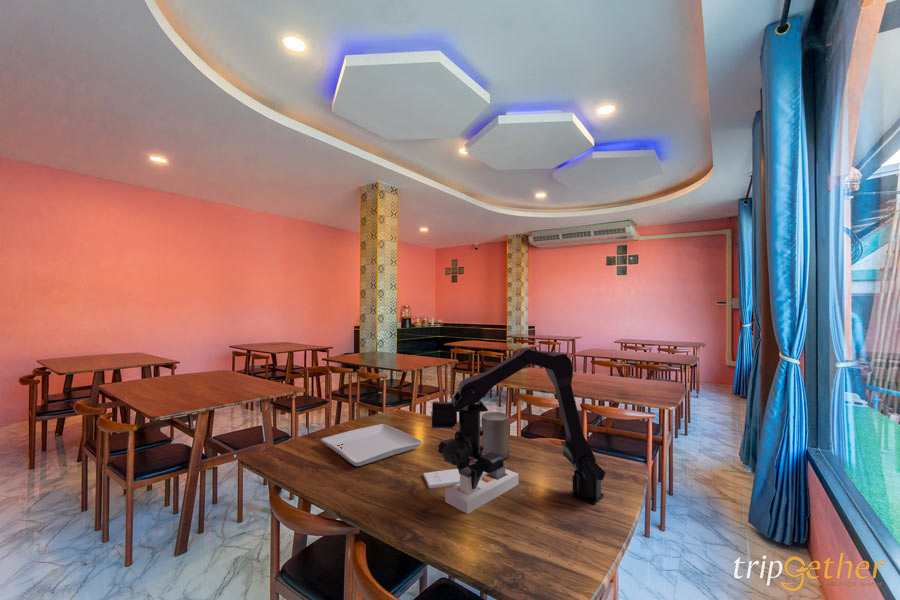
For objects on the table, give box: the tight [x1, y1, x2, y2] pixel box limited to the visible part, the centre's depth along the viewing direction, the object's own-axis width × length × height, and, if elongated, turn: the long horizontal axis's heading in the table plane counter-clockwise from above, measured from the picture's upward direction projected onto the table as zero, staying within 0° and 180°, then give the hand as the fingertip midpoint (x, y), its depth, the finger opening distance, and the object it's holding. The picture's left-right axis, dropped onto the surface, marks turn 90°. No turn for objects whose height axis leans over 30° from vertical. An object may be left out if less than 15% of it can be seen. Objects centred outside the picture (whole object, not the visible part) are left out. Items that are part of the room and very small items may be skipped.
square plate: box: [320, 423, 423, 467], centre depth 131 cm, size 27×27×4 cm
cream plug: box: [460, 467, 478, 495], centre depth 95 cm, size 3×4×6 cm
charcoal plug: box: [489, 462, 506, 480], centre depth 104 cm, size 3×4×6 cm
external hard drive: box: [422, 468, 460, 489], centre depth 107 cm, size 2×8×12 cm
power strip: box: [444, 468, 519, 515], centre depth 100 cm, size 8×22×4 cm, turn 135°
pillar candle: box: [480, 411, 510, 461], centre depth 126 cm, size 10×10×15 cm
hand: (469, 486), depth 95 cm, fingers closed on cream plug, 3 cm apart
